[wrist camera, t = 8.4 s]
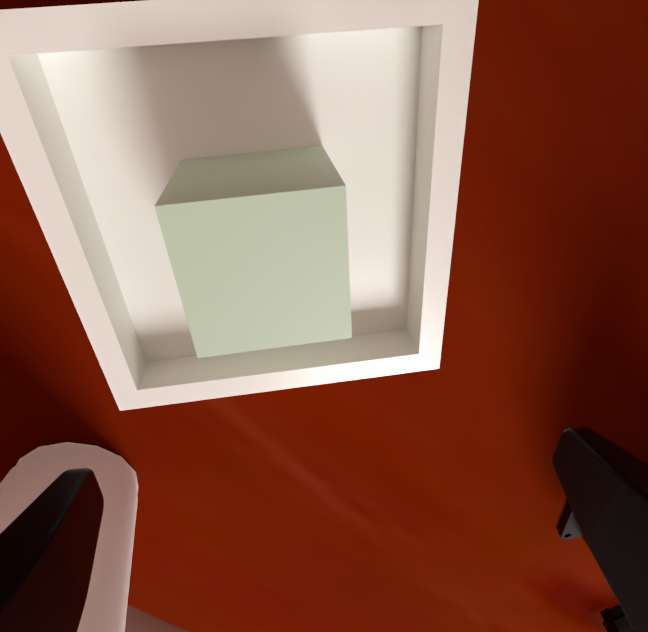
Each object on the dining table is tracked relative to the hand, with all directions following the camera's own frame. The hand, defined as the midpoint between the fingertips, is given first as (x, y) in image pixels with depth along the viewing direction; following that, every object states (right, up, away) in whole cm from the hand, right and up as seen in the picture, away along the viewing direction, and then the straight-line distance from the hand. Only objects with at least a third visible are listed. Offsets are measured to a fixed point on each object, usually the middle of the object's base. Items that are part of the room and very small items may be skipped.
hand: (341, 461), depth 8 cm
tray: (-3, +7, +9) cm, 12 cm away
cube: (-3, +7, +9) cm, 11 cm away
